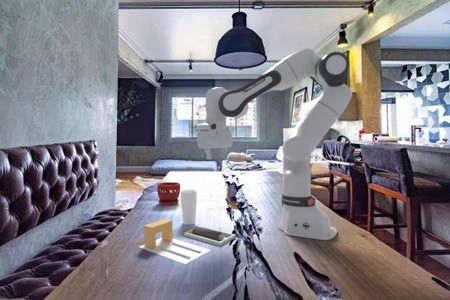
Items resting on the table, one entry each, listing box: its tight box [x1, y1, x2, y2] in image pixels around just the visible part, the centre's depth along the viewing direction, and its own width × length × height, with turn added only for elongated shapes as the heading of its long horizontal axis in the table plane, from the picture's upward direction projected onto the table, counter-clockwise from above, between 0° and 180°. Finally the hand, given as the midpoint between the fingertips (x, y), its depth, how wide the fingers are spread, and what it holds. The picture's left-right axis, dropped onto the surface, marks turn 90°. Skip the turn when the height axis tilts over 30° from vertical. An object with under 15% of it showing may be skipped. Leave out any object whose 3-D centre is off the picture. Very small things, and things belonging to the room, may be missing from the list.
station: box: [138, 237, 212, 265], centre depth 89 cm, size 22×12×2 cm, turn 54°
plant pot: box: [156, 181, 181, 206], centre depth 156 cm, size 13×13×12 cm
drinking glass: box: [180, 189, 198, 226], centre depth 116 cm, size 7×7×15 cm
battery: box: [191, 225, 225, 242], centre depth 98 cm, size 13×4×4 cm
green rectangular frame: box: [183, 225, 236, 247], centre depth 99 cm, size 17×9×2 cm, turn 54°
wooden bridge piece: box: [143, 218, 174, 248], centre depth 93 cm, size 4×9×7 cm, turn 144°
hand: (216, 158), depth 115 cm, fingers open, 8 cm apart
